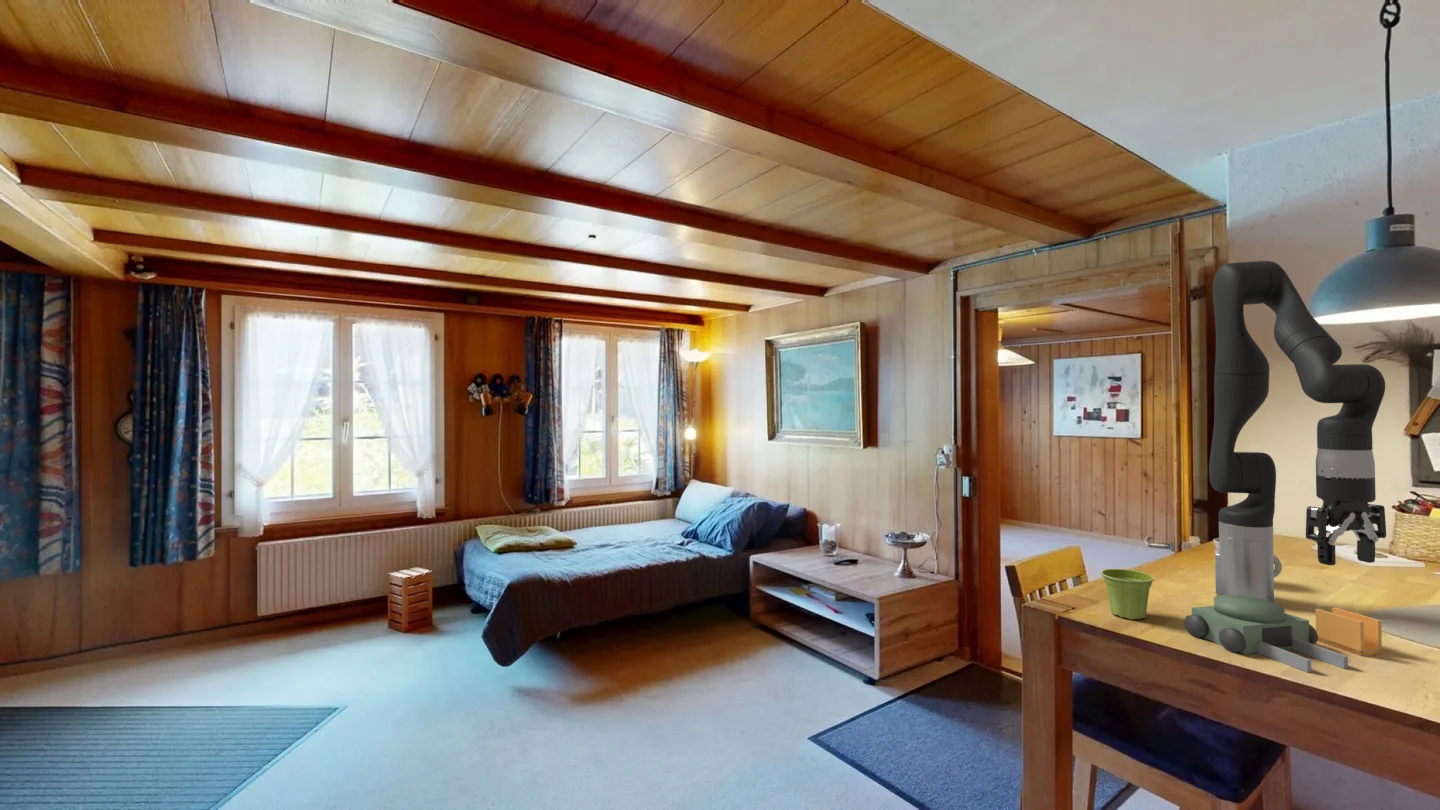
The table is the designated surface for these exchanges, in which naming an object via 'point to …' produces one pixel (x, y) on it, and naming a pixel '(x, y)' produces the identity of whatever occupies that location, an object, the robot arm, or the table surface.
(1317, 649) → the toy forklift
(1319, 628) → the orange u-channel
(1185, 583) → the table surface
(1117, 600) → the plant pot
